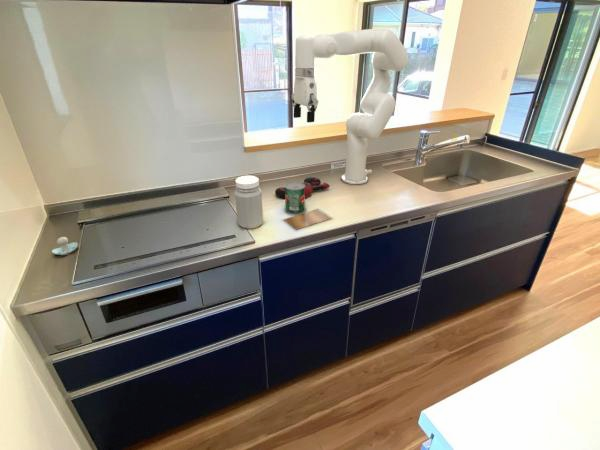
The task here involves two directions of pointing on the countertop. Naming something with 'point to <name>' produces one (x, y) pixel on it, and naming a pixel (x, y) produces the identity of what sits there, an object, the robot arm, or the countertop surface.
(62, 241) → the pacifier
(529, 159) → the countertop surface
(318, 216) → the mat
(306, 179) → the toy motorcycle
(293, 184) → the canned tomato
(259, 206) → the jar
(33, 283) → the countertop surface
